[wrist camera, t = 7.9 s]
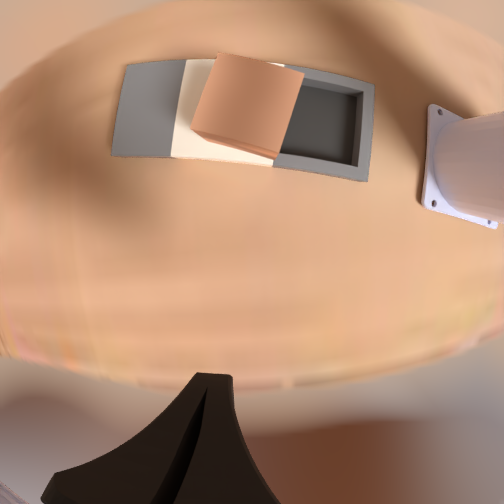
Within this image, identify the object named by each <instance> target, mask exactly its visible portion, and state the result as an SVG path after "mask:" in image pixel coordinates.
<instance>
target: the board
mask: <svg viewBox="0 0 504 504" xmlns="http://www.w3.org/2000/svg"><path fill="white" fill-rule="evenodd" d="M215 60H216V59H189V60H170V61H157V62H147V63H139V64H132V65H127V69H126V73H125V77H124V81H123V86H122V90H121V95H120V100H119V105H118V111H117V116H116V122H115V128H114V135H113V143H112V151H111V156H116V157H152V158H179V159H197V160H211V161H223V162H234V163H244V164H253V165H261V166H269V167H277V168H284V169H291V170H298V171H304V172H310V173H316V174H322V175H328V176H333V177H338V178H343V179H348V180H353V181H358V182H368V175H369V166H370V157H371V146H372V134H373V119H374V97H375V85H374V84H371V83H368V82H364V81H361V80H357V79H354V78H350V77H346V76H342V75H338V74H334V73H329V72H325V71H320V70H315V69H309V68H304V67H298V66H291V65H284V64H277V63H271V64H275V65H278V66H282V67H285V68H289V69H292V70H295V71H299V72H302V73H305V75H304V78H303V81H302V84H301V87H300V90H299V93H298V96H297V99H296V102H295V105H294V108H293V111H292V114H291V118H290V121H289V124H288V127H287V130H286V133H285V136H284V139H283V142H282V145H281V149H280V152H279V154H278V156H277V157H276V159H275V161H274V160H271V159H268V158H265V157H262V156H258V155H255V154H252V153H248V152H245V151H241V150H238V149H234V148H230V147H227V146H223V145H219V144H215V143H211V142H207V141H206V140H205V139H203V138H202V137H201V136H199V135H198V134H197V133H195V132H194V131H192V130H191V129H190V126H191V123H192V120H193V117H194V114H195V112H196V109H197V106H198V103H199V100H200V98H201V95H202V92H203V90H204V87H205V85H206V82H207V79H208V77H209V74H210V72H211V69H212V67H213V65H214V62H215ZM267 63H268V62H267Z"/></svg>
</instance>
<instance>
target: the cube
mask: <svg viewBox="0 0 504 504" xmlns="http://www.w3.org/2000/svg"><path fill="white" fill-rule="evenodd" d="M304 75H305V73H302V72H299V71H295V70H292V69H289V68H285V67H282V66H278V65H275V64H271V63H267V62H263V61H259V60H255V59H251V58H246V57H241V56H237V55H231V54H226V53H220V52H219V53H218V55H217V57H216V60H215V62H214V65H213V67H212V69H211V72H210V74H209V77H208V79H207V82H206V85H205V87H204V90H203V92H202V95H201V98H200V100H199V103H198V106H197V109H196V112H195V114H194V117H193V120H192V123H191V126H190V129H191V130H192V131H194V132H195V133H197V134H198V135H199V136H201V137H202V138H203V139H205V140H206V141H207V142H211V143H215V144H219V145H223V146H227V147H230V148H234V149H238V150H241V151H245V152H248V153H252V154H255V155H258V156H262V157H265V158H268V159H271V160H274V161H275V159H276V157H277V156H278V154H279V152H280V149H281V145H282V142H283V139H284V136H285V133H286V130H287V127H288V124H289V121H290V118H291V114H292V111H293V108H294V105H295V102H296V99H297V96H298V93H299V90H300V87H301V84H302V81H303V78H304Z"/></svg>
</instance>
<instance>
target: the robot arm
mask: <svg viewBox="0 0 504 504" xmlns="http://www.w3.org/2000/svg"><path fill="white" fill-rule="evenodd" d="M438 111H439V112H440V115H439V114H438ZM432 201H434V205H433V206H432ZM421 203H422V206H423V207H424V208H426V209H429V210H433V211H437V212H440V213H444V214H447V215H451V216H454V217H458V218H461V219H464V220H467V221H471V222H474V223H477V224H480V225H483V226H486V227H489V228H492V229H496V228H497V226H498V223H502V224H504V112H499V113H493V114H488V115H483V116H478V117H473V118H469V119H464V118H462V117H460V116H458V115H456V114H454V113H452V112H450V111H448V110H446V109H444V108H442V107H440V106H438V105H436V104H431V105H429V106H428V130H427V151H426V165H425V175H424V184H423V192H422V199H421ZM41 501H42V502H43V503H44V504H281V503H280V502H279V501H278V499H277V498H276V497H275V495H274V494H273V493H272V491H271V490H270V488H269V487H268V485H267V483H266V482H265V480H264V478H263V477H262V475H261V473H260V472H259V470H258V468H257V466H256V464H255V462H254V461H253V459H252V457H251V455H250V452H249V450H248V448H247V445H246V443H245V441H244V438H243V435H242V433H241V430H240V427H239V424H238V420H237V417H236V413H235V409H234V393H233V377H232V376H231V375H228V374H211V373H199V372H197V373H196V374H195V375H194V376H193V377H192V379H191V380H190V381H189V383H188V384H187V385H186V386H185V388H184V389H183V390H182V391H181V392H180V394H179V395H178V396H177V397H176V398H175V399H174V400H173V401H172V403H171V404H170V405H169V406H168V407H167V408H166V409H165V410H164V411H163V412H162V413H161V414H160V415H159V416H158V417H157V418H156V419H154V420H153V421H152V422H151V423H150V424H149V425H148V426H147V427H145V428H144V429H143V430H142V431H140V432H139V433H138V434H137V435H135V436H134V437H132V438H131V439H130V440H128V441H127V442H125V443H124V444H122V445H120V446H119V447H117V448H116V449H114V450H112V451H110V452H109V453H107V454H105V455H103V456H101V457H98V458H96V459H94V460H92V461H90V462H87V463H85V464H83V465H80V466H77V467H74V468H71V469H67V470H64V471H61V472H57V473H55V474H54V475H53V477H52V478H51V480H50V482H49V483H48V485H47V487H46V489H45V491H44V492H43V494H42V496H41ZM0 504H29V503H27V502H26V501H25V500H23V499H22V498H21V497H19V496H18V495H17V494H15V493H14V492H13V491H12V490H10V489H9V488H8V487H7V486H6V485H4V484H3V483H2V482H1V481H0Z"/></svg>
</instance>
